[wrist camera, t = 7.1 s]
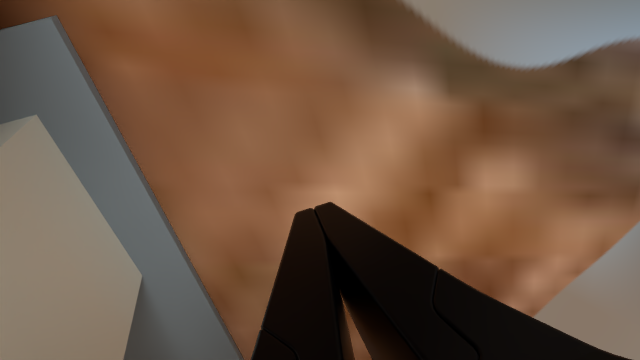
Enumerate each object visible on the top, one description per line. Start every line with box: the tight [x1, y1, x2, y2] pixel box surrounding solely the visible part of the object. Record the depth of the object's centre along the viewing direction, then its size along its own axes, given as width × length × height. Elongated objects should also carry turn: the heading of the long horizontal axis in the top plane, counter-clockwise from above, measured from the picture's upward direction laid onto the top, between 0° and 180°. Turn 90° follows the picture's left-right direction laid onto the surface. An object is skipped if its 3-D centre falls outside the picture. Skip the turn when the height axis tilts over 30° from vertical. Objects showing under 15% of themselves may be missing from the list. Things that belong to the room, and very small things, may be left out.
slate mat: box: [0, 15, 244, 360], centre depth 14 cm, size 19×13×1 cm
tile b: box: [0, 115, 142, 360], centre depth 8 cm, size 6×2×7 cm, turn 13°
